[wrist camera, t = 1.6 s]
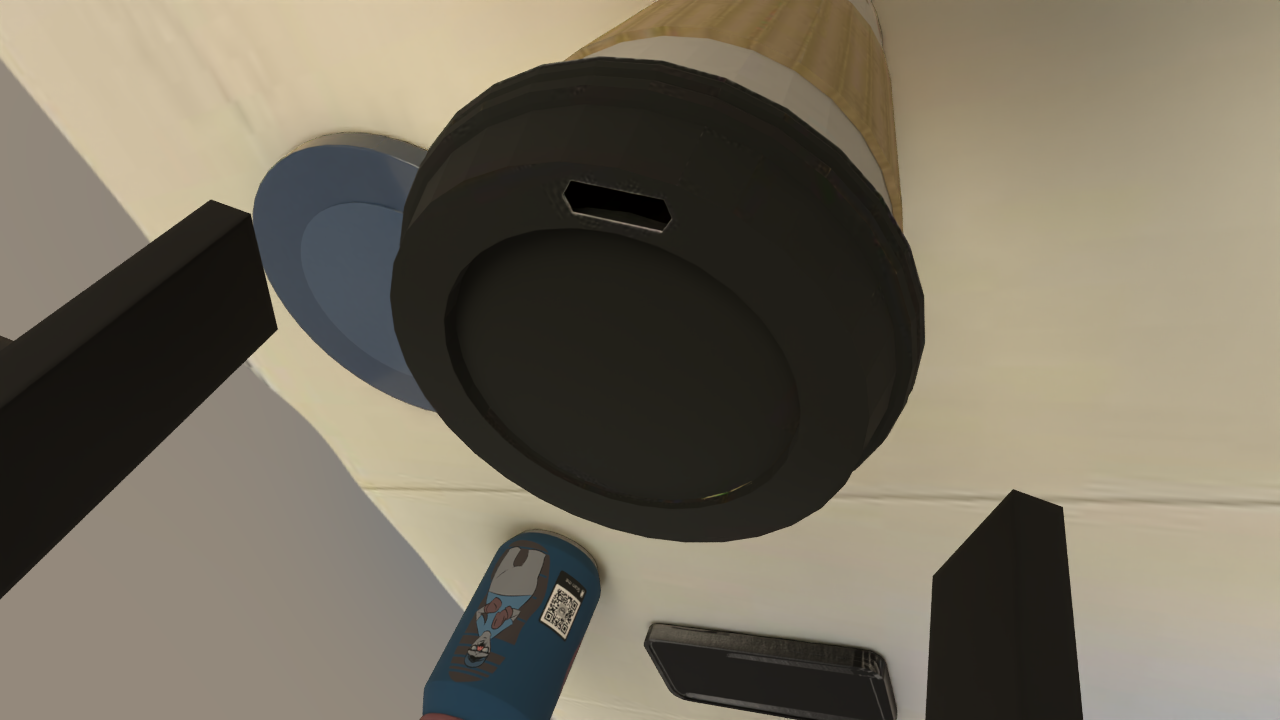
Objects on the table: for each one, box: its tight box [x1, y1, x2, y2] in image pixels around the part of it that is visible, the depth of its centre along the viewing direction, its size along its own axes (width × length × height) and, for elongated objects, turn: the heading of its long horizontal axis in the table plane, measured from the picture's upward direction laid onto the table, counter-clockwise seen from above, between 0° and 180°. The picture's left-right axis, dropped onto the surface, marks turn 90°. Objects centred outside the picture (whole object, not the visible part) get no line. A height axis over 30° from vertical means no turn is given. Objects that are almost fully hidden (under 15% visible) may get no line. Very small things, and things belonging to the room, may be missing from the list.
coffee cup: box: [390, 0, 925, 542], centre depth 18 cm, size 10×10×15 cm
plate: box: [253, 133, 436, 412], centre depth 35 cm, size 15×15×1 cm
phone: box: [644, 624, 897, 720], centre depth 48 cm, size 8×1×15 cm
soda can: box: [420, 530, 601, 720], centre depth 44 cm, size 7×7×12 cm
